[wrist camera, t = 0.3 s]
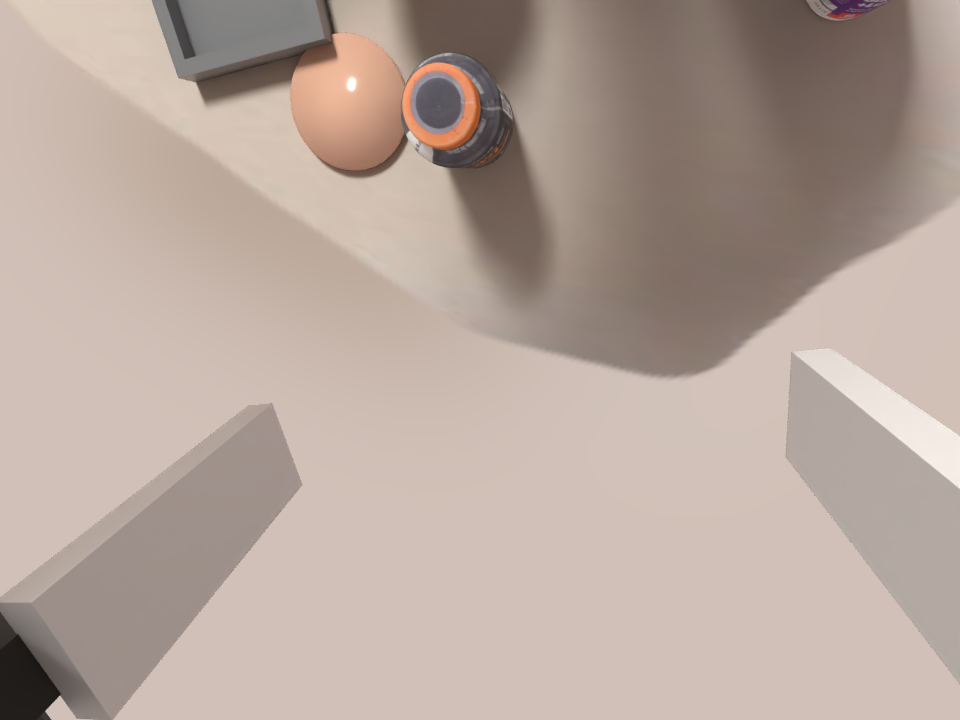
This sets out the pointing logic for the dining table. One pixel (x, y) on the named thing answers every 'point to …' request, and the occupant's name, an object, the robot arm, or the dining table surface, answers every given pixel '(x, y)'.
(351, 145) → the peach flat disc
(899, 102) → the dining table surface
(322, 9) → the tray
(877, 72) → the dining table surface
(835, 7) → the pill bottle
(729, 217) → the dining table surface
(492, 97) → the pill bottle
